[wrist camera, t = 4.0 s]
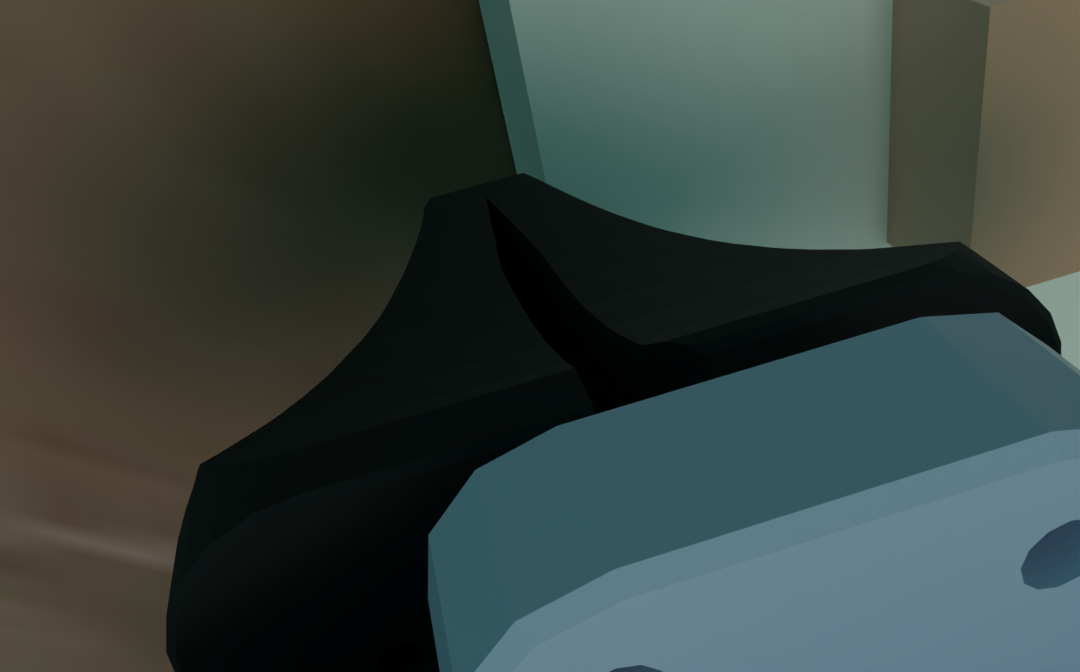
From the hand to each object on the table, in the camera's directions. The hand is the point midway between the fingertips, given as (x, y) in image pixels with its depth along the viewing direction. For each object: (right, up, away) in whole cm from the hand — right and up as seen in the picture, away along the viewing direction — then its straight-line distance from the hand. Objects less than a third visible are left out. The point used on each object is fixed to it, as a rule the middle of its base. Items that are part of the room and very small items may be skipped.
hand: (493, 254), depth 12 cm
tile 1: (+7, +3, +1) cm, 8 cm away
